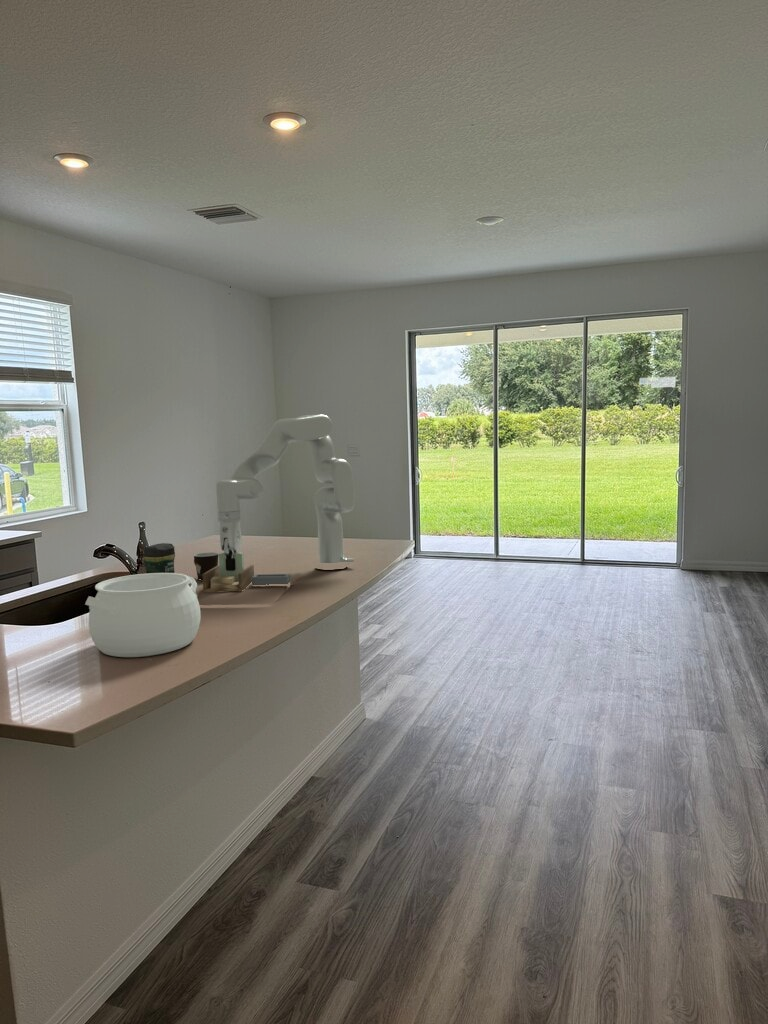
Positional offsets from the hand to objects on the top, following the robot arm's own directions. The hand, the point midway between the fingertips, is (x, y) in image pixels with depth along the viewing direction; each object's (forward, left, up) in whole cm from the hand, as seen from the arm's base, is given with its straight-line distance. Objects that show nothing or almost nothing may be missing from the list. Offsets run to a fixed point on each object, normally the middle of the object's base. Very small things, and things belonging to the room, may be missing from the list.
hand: (231, 569), depth 239 cm
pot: (+2, +66, -7) cm, 66 cm away
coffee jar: (+17, +20, -7) cm, 27 cm away
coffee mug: (+13, -11, -7) cm, 19 cm away
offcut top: (+1, +7, -3) cm, 8 cm away
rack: (0, +4, -6) cm, 7 cm away
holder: (-14, +2, -6) cm, 15 cm away
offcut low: (0, +7, -5) cm, 9 cm away
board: (0, 0, -5) cm, 5 cm away
